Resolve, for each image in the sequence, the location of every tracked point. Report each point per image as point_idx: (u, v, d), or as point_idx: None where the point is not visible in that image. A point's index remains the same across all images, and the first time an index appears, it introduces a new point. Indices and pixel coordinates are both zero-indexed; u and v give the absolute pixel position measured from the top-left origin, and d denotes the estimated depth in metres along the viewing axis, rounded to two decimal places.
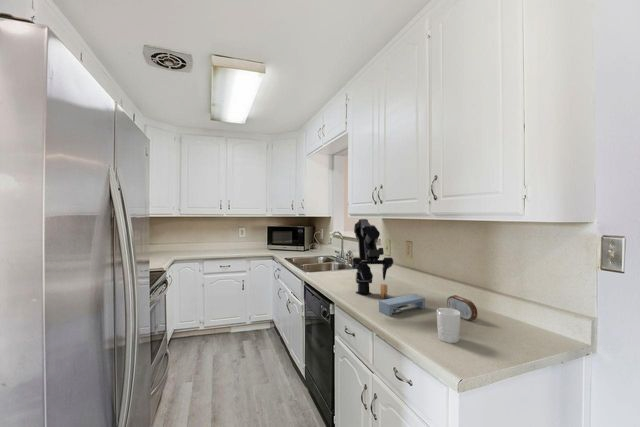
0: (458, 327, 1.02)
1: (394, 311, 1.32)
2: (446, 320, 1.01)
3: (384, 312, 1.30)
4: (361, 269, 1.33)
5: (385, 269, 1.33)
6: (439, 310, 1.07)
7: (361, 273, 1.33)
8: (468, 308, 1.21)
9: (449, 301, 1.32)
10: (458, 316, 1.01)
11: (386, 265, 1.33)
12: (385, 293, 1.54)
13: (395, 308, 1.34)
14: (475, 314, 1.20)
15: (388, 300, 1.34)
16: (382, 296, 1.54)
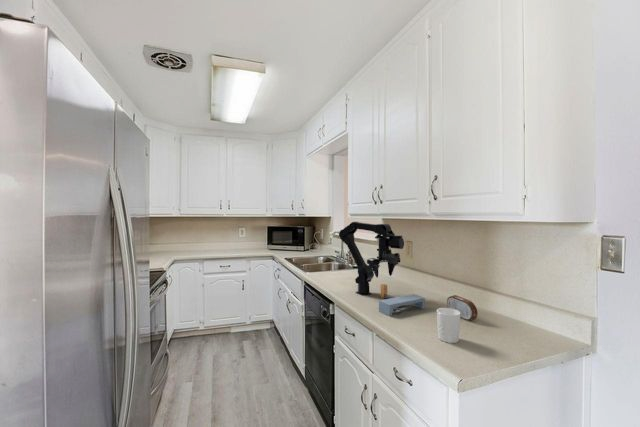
0: (458, 327, 1.02)
1: (394, 311, 1.32)
2: (446, 320, 1.01)
3: (384, 312, 1.30)
4: (377, 269, 1.51)
5: (393, 267, 1.56)
6: (439, 310, 1.07)
7: (376, 272, 1.51)
8: (468, 308, 1.21)
9: (449, 301, 1.32)
10: (458, 316, 1.01)
11: (395, 264, 1.56)
12: (385, 293, 1.54)
13: (395, 308, 1.34)
14: (475, 314, 1.20)
15: (388, 300, 1.34)
16: (382, 296, 1.54)
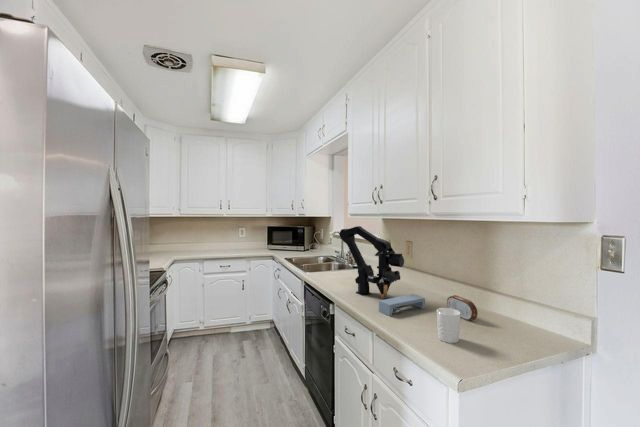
0: (458, 327, 1.02)
1: (394, 311, 1.32)
2: (446, 320, 1.01)
3: (384, 312, 1.30)
4: (382, 286, 1.52)
5: (389, 285, 1.55)
6: (439, 310, 1.07)
7: (381, 289, 1.53)
8: (468, 308, 1.21)
9: (449, 301, 1.32)
10: (458, 316, 1.01)
11: (390, 282, 1.54)
12: (385, 293, 1.54)
13: (395, 308, 1.34)
14: (475, 314, 1.20)
15: (388, 300, 1.34)
16: (382, 296, 1.54)
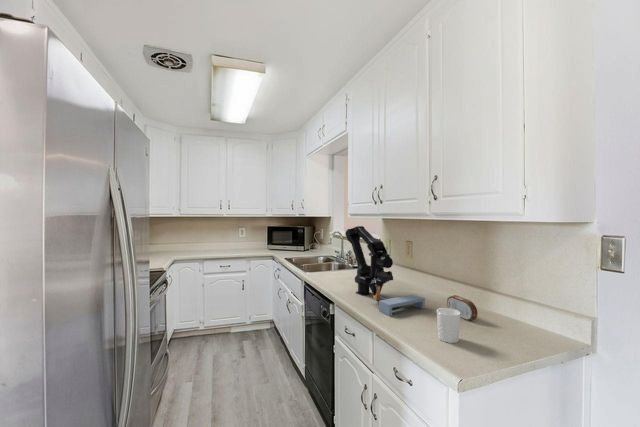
0: (458, 327, 1.02)
1: None
2: (446, 320, 1.01)
3: (384, 312, 1.30)
4: (374, 287, 1.49)
5: (381, 286, 1.52)
6: (439, 310, 1.07)
7: (373, 290, 1.50)
8: (468, 308, 1.21)
9: (449, 301, 1.32)
10: (458, 316, 1.01)
11: (383, 283, 1.51)
12: (378, 295, 1.50)
13: None
14: (475, 314, 1.20)
15: (388, 300, 1.34)
16: (375, 298, 1.51)
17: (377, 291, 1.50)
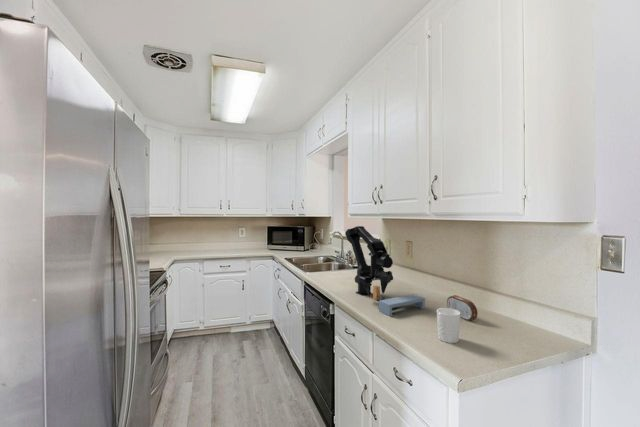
0: (458, 327, 1.02)
1: None
2: (446, 320, 1.01)
3: (384, 312, 1.30)
4: (369, 288, 1.48)
5: (386, 285, 1.53)
6: (439, 310, 1.07)
7: (368, 291, 1.48)
8: (468, 308, 1.21)
9: (449, 301, 1.32)
10: (458, 316, 1.01)
11: (387, 282, 1.52)
12: (378, 295, 1.50)
13: None
14: (475, 314, 1.20)
15: (388, 300, 1.34)
16: (375, 298, 1.51)
17: (377, 291, 1.50)
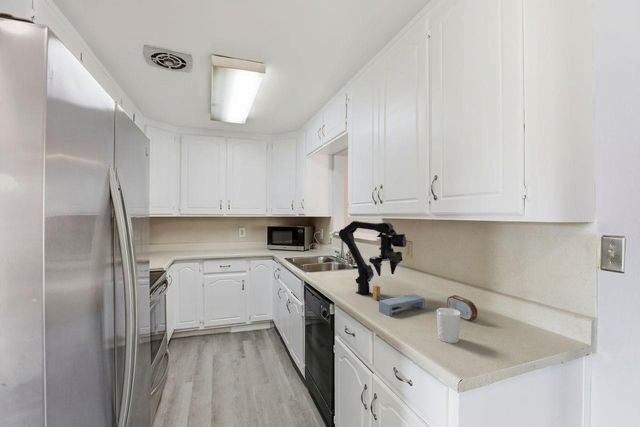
0: (458, 327, 1.02)
1: None
2: (446, 320, 1.01)
3: (384, 312, 1.30)
4: (379, 268, 1.52)
5: (395, 266, 1.57)
6: (439, 310, 1.07)
7: (378, 271, 1.52)
8: (468, 308, 1.21)
9: (449, 301, 1.32)
10: (458, 316, 1.01)
11: (397, 263, 1.56)
12: (378, 295, 1.50)
13: None
14: (475, 314, 1.20)
15: (388, 300, 1.34)
16: (375, 298, 1.51)
17: (377, 291, 1.50)
